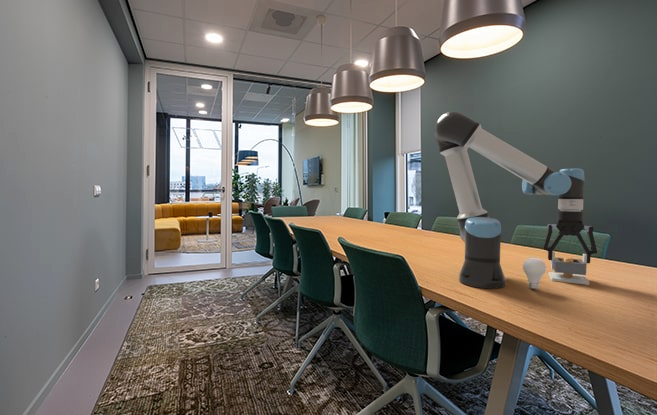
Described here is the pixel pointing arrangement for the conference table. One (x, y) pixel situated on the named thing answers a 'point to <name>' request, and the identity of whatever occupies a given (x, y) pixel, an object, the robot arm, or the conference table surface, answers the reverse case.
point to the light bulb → (534, 271)
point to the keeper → (568, 276)
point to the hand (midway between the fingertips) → (568, 270)
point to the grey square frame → (570, 266)
